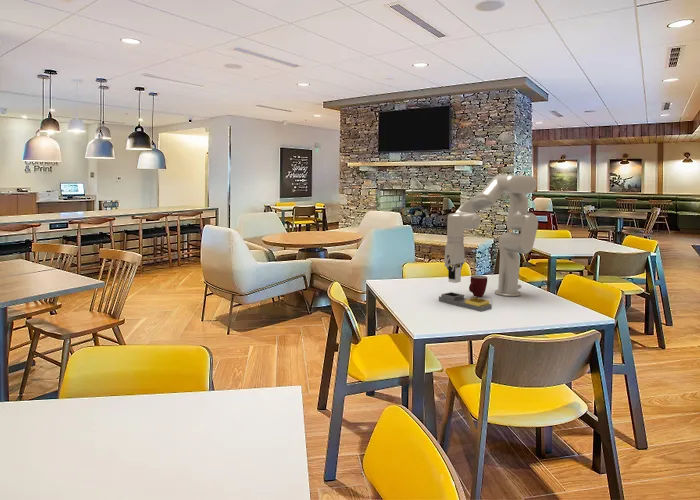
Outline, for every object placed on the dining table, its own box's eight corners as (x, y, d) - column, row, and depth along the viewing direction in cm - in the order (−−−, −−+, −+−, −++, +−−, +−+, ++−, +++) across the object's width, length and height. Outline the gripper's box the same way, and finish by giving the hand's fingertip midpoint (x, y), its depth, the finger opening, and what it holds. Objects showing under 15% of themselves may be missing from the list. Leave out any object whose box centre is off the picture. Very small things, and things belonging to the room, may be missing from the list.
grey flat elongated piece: (449, 298, 242) (449, 291, 241) (491, 308, 224) (491, 301, 223) (438, 301, 237) (439, 293, 236) (481, 311, 219) (481, 303, 218)
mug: (477, 299, 240) (478, 279, 238) (463, 296, 246) (464, 277, 244) (489, 296, 247) (490, 277, 246) (475, 293, 253) (476, 274, 251)
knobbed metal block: (453, 280, 237) (454, 264, 236) (460, 281, 234) (460, 265, 233) (448, 281, 235) (448, 265, 233) (455, 283, 232) (455, 266, 230)
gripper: (459, 237, 240) (459, 274, 242) (437, 241, 229) (436, 279, 232) (472, 239, 234) (471, 276, 237) (450, 242, 223) (449, 282, 226)
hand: (454, 277), depth 234 cm, fingers closed on knobbed metal block, 4 cm apart
